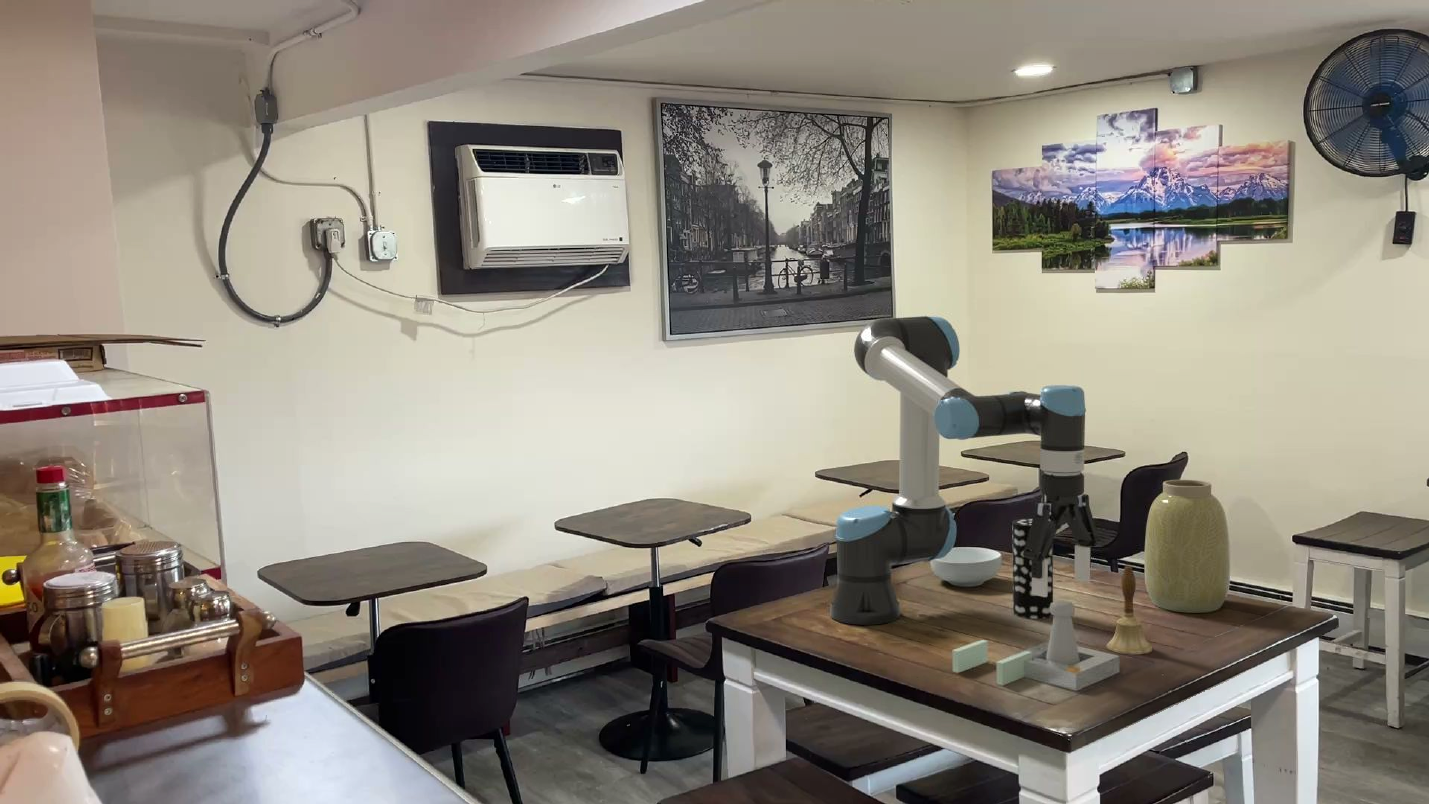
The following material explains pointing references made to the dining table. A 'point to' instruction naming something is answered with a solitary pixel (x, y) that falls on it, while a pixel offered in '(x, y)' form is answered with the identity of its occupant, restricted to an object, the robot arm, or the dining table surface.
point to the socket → (1070, 667)
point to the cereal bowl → (967, 566)
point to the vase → (1187, 549)
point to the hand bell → (1129, 622)
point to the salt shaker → (1062, 635)
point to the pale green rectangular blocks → (978, 655)
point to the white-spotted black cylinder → (1028, 576)
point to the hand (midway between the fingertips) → (1061, 588)
